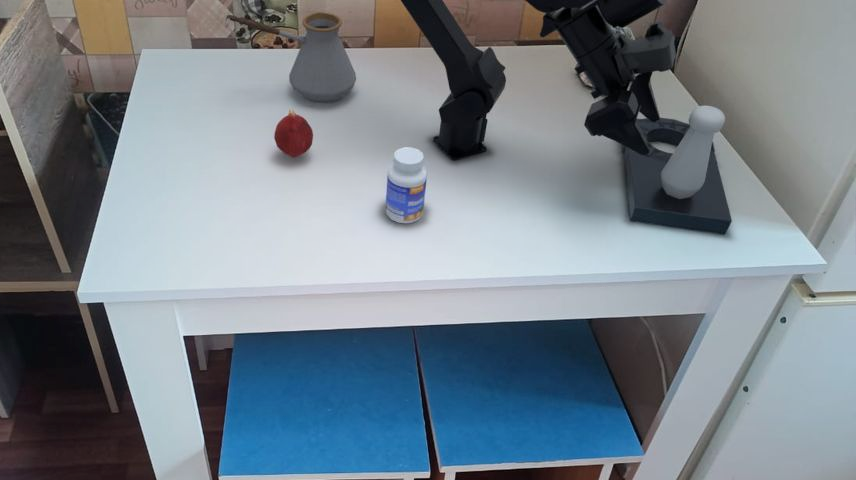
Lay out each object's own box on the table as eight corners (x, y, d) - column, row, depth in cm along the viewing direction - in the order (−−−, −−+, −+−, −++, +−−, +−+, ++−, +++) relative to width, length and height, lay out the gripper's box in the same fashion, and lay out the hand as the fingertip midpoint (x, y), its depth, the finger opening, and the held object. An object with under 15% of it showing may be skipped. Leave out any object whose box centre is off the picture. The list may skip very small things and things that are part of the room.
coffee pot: (348, 73, 132) (349, -10, 122) (362, 106, 124) (365, 21, 114) (229, 83, 128) (220, -1, 118) (236, 118, 121) (226, 31, 110)
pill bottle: (411, 229, 101) (417, 172, 95) (377, 215, 103) (381, 158, 97) (429, 209, 105) (436, 152, 98) (396, 195, 107) (401, 139, 100)
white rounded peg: (691, 208, 102) (726, 128, 93) (651, 192, 105) (681, 113, 95) (703, 187, 106) (738, 108, 97) (664, 173, 108) (694, 95, 99)
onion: (319, 151, 114) (319, 106, 109) (302, 171, 111) (301, 125, 105) (287, 142, 116) (284, 97, 110) (269, 161, 112) (265, 115, 107)
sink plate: (726, 234, 102) (733, 221, 101) (628, 220, 104) (634, 207, 102) (702, 136, 120) (708, 123, 118) (619, 125, 122) (623, 112, 120)
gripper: (638, 42, 85) (701, 147, 90) (661, -16, 98) (716, 79, 102) (556, 87, 93) (619, 181, 98) (587, 28, 105) (641, 114, 110)
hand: (651, 136), depth 102 cm, fingers open, 9 cm apart
